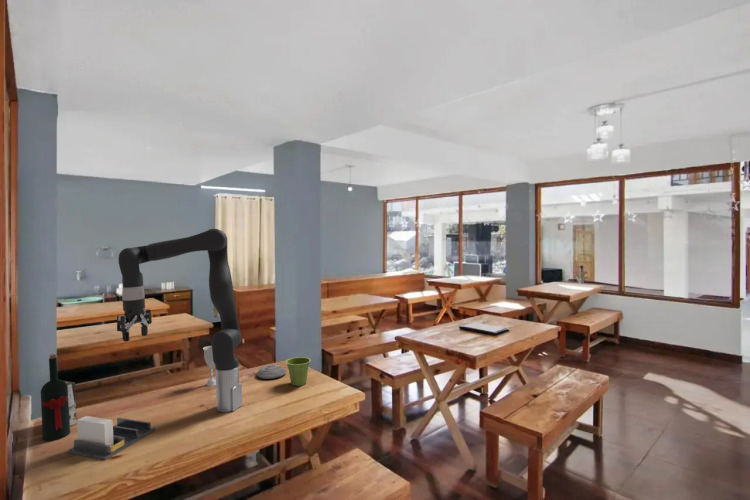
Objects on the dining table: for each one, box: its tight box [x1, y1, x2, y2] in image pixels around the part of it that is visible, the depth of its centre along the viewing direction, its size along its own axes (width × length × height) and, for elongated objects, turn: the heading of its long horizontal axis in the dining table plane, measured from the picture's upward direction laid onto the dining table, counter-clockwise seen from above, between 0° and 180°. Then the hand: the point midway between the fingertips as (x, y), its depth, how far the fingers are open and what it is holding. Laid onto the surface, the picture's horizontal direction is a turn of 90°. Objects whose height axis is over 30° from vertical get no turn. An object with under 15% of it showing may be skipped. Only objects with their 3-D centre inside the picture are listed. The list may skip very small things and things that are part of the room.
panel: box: [76, 415, 114, 448], centre depth 133 cm, size 12×3×9 cm, turn 74°
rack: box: [68, 417, 156, 461], centre depth 139 cm, size 16×20×4 cm
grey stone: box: [255, 364, 287, 380], centre depth 201 cm, size 15×15×6 cm
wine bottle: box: [40, 353, 71, 442], centre depth 141 cm, size 8×10×30 cm
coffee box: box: [41, 380, 78, 427], centre depth 150 cm, size 9×6×16 cm
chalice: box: [202, 345, 216, 387], centre depth 189 cm, size 7×7×18 cm
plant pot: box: [285, 356, 312, 387], centre depth 189 cm, size 12×12×11 cm
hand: (135, 338), depth 155 cm, fingers open, 8 cm apart
